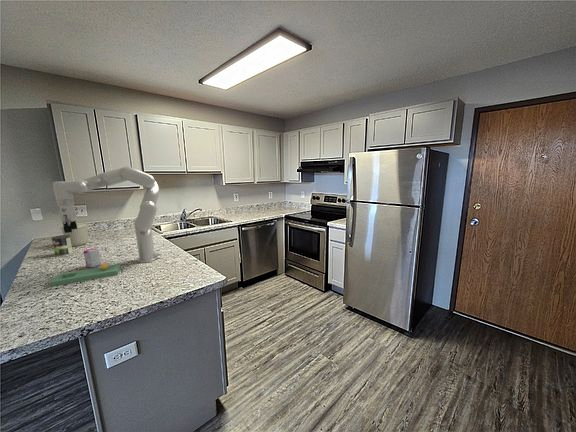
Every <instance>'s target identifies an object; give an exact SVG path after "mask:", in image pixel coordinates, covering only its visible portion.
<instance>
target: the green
mask: <svg viewBox="0 0 576 432" xmlns="http://www.w3.org/2000/svg"><path fill="white" fill-rule="evenodd" d="M120 270H121V264H120V263H118V264H113V265H108V268H107V269H106V270H102V269H100V267H94V268H87V269H84V270H83V269H81V270H76V271H70V272H64V273H59V274H57V275H56V276H55V277H54V278H53V279H52V280H51V281H50V282H49V283H50V287H57V286H60V285H61V286H62V285H68V284H72V283H79V282H84V281H89V280H95V279H96V280H97V279H100V278H106V277H112V276H117V275H119V273H120Z"/></svg>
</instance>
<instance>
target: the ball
mask: <svg viewBox="0 0 576 432" xmlns="http://www.w3.org/2000/svg"><path fill="white" fill-rule="evenodd" d="M108 266H109V264H108V263H105V262H103V263H101V265H100V266H99V268H100V269H102V270H106V269H107V268H108Z"/></svg>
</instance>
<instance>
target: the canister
mask: <svg viewBox="0 0 576 432" xmlns="http://www.w3.org/2000/svg"><path fill="white" fill-rule="evenodd" d="M76 224H77V229H72V232H69V233H65V232H64V227H63V226H62V227H60V230H61V231H62V234H63V235H70V240H71V245H72V247H80V246H83V245H87V243H88V241H89V233H88V232H89V231H88V228H89V224H87V223H78V221H76Z"/></svg>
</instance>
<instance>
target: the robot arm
mask: <svg viewBox="0 0 576 432" xmlns="http://www.w3.org/2000/svg"><path fill="white" fill-rule="evenodd" d="M127 181H128V182H131V183H134V184H136V185H138V186H142V187H143V188H144V193H143V197H142V200H141V203H140V205H139V212H138V214H137V217H136V218H134V223H133V224H134V231H135V237H136V244H137V252H138V258H136V261H137V263H141V264H143V263H149V262H153V261H156V260H157V259H158V257H159V256H162V255H163V254H162V252H160V251H158V252H156V251H155V247H154V239H153V232H152V231H153V230H152V227H153V224H154V222H155V221H154V220H155V217H156V214H157V211H158V208H157V202H158V199H159V194H160V187H159V184H158V183H157V181H156V180H155V178H154V176H153V175H151V174H148V173H146V172H144V171H141V170H139V169H136V168H133V167H131V166H124V167H120V168H119V167H118V168H116V169H112V170H108V171H104V172H101V173H99V174H96V175H95V176H94V175H93V176H90V177H87V178H83V179H80V180H79V179H78V180H70V181H66V180H65V181H64V180H62V181H61V180H60V181H53V182H52V186H53V193H54V197H55V201H56V205H57V207H58V208H59V214H60V219H61V222H62V227H64V232H65V233H69V232H72V229H77V224H78V223H77V224H76V222H77V220H78V215H77V211H76V208H75V201H74V194H83V193H86V192H88V191H92V190H95V189H100V188H104V187H110V186H114V185H117V184H121V183H123V182H127Z"/></svg>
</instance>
